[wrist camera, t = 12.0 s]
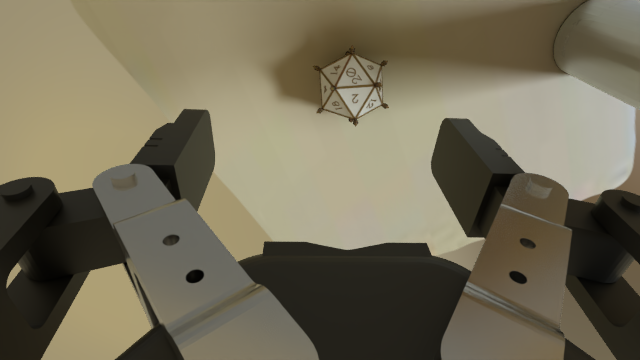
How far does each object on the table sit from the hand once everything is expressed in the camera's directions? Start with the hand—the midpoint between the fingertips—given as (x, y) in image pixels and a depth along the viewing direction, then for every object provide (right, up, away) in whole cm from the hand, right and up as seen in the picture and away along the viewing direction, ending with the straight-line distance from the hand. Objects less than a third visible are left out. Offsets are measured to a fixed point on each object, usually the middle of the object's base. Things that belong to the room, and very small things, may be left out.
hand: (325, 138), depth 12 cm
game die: (+3, +12, +31) cm, 34 cm away
